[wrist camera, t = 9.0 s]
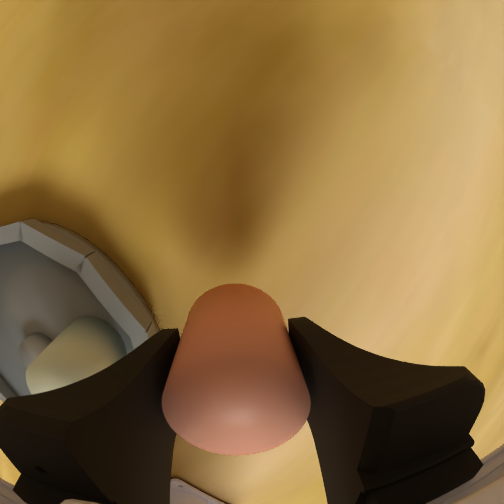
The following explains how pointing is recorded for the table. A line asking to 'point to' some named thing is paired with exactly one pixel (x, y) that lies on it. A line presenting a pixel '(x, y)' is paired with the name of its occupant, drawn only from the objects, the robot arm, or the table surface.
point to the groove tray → (58, 296)
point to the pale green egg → (75, 355)
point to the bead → (235, 375)
